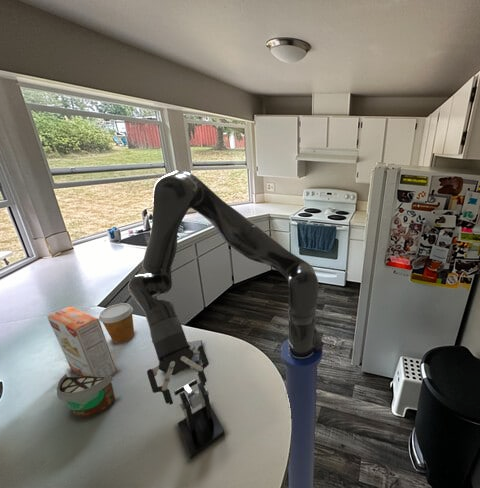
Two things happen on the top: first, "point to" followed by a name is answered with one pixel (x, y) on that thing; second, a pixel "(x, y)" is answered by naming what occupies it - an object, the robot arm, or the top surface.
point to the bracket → (199, 424)
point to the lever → (191, 394)
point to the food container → (86, 394)
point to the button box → (193, 346)
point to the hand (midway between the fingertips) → (188, 394)
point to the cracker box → (82, 342)
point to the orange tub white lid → (118, 322)
